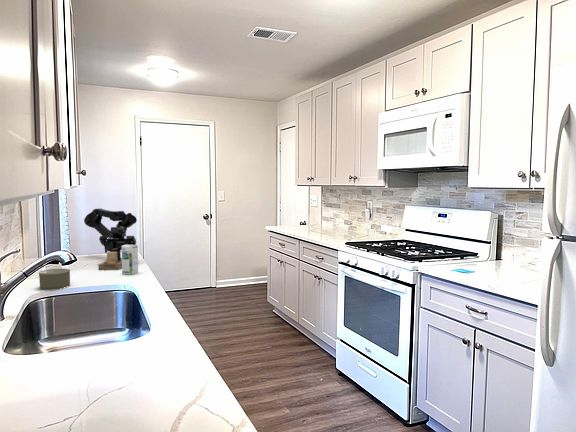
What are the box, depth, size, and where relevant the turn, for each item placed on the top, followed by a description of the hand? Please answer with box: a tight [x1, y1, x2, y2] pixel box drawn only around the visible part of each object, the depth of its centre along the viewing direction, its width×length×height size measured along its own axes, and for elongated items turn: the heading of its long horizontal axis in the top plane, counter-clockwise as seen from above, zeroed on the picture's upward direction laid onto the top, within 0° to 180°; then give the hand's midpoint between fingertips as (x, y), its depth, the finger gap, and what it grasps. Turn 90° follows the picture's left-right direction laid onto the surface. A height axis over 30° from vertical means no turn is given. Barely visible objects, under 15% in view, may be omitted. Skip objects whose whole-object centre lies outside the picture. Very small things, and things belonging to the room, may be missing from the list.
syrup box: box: [121, 244, 139, 276], centre depth 205 cm, size 6×6×14 cm
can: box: [38, 268, 71, 291], centre depth 179 cm, size 12×12×7 cm
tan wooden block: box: [106, 251, 117, 264], centre depth 219 cm, size 4×4×8 cm
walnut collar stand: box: [98, 260, 122, 271], centre depth 219 cm, size 10×10×3 cm
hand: (114, 252), depth 223 cm, fingers open, 9 cm apart
